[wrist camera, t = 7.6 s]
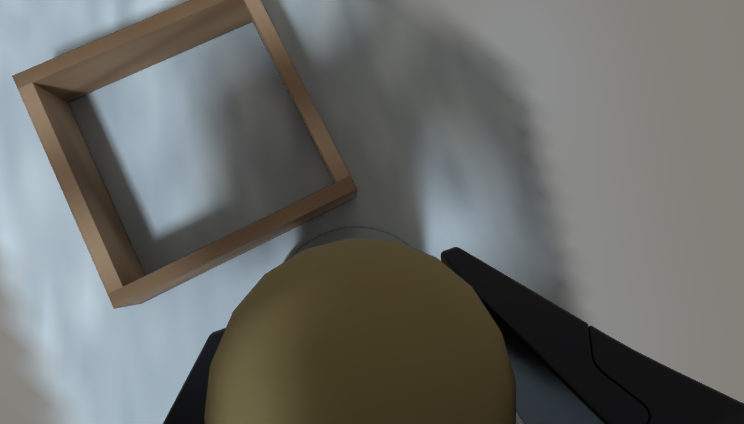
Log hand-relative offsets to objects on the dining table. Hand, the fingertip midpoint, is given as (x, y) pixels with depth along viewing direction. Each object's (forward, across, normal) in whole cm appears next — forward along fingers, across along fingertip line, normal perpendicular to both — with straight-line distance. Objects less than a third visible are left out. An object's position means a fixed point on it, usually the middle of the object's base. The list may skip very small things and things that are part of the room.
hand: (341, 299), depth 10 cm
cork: (+4, 0, +6) cm, 7 cm away
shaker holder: (+11, +4, 0) cm, 12 cm away
